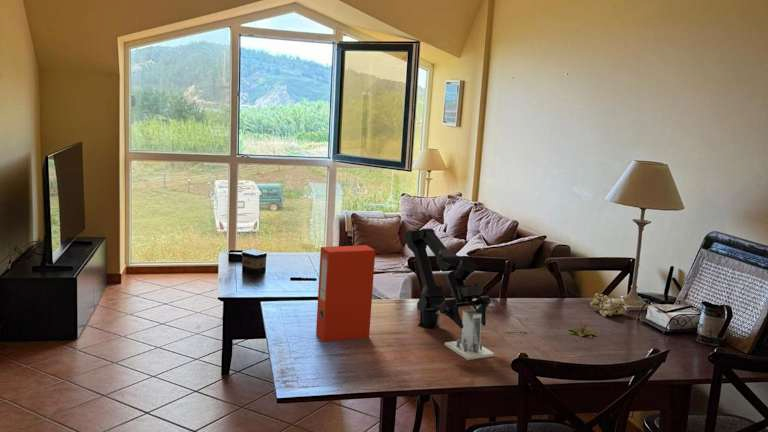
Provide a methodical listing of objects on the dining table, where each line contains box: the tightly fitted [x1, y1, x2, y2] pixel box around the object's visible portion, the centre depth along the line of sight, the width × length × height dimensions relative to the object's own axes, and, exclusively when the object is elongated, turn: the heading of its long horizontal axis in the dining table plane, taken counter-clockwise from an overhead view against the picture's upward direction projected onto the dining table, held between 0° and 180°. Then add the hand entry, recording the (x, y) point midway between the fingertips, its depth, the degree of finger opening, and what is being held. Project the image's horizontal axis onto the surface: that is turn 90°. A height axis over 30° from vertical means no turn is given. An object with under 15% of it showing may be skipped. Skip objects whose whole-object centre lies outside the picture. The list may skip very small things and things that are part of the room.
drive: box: [461, 309, 482, 351], centre depth 230 cm, size 6×4×12 cm, turn 28°
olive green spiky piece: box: [568, 321, 598, 339], centre depth 258 cm, size 12×12×5 cm
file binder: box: [315, 244, 376, 343], centre depth 234 cm, size 8×17×32 cm, turn 116°
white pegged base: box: [444, 335, 495, 361], centre depth 231 cm, size 14×11×4 cm
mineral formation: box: [590, 293, 628, 318], centre depth 286 cm, size 8×13×15 cm
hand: (473, 326), depth 228 cm, fingers open, 9 cm apart
